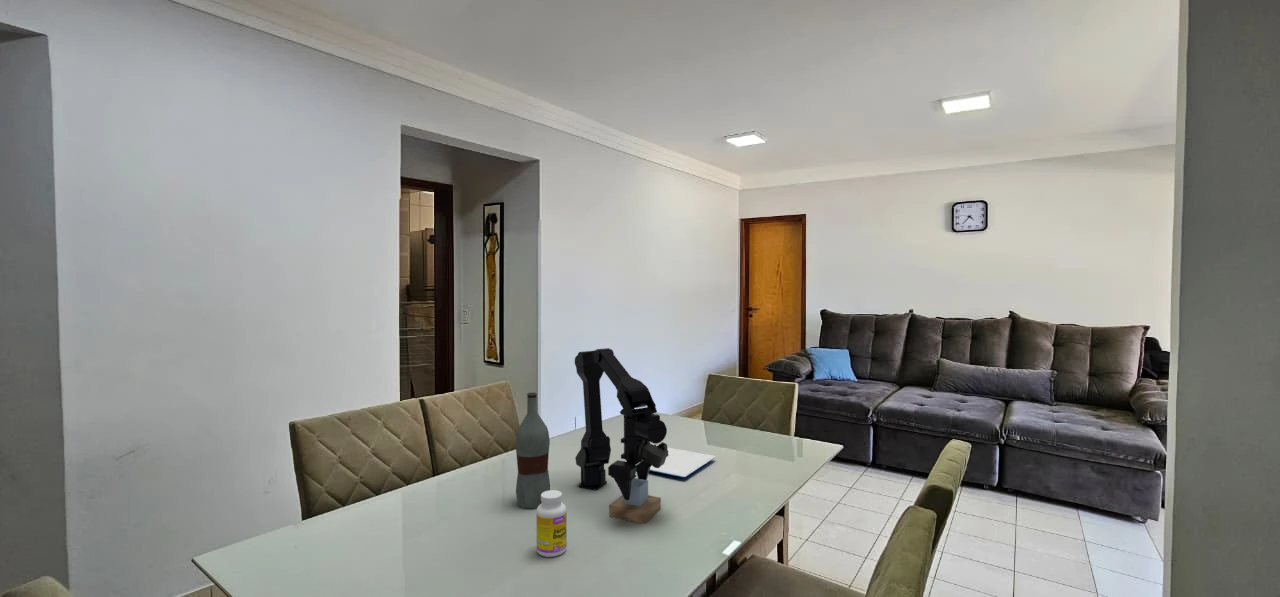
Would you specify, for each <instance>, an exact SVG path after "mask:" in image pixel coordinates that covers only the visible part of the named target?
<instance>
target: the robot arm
mask: <svg viewBox="0 0 1280 597" xmlns="http://www.w3.org/2000/svg"><path fill="white" fill-rule="evenodd" d="M574 366H575V370H576V374H577V375H578V376H579V378H580V380H581V381H582V387H583V388H582V390H583V401H584V402H583V405H584V421H585V432H584V435H583V437H582V439H580V440H581V441H580V449H579V451H578V453H577V454H576V456H575V458H574V459H575V464H576V466H578V467H579V468H580V483H578V484H577V487H579V488H583V489H589V490H595V491H596V490H599V489H600V488H602V487H603V486H604V485H606V484H607V483H608V481H607V480H606V477H607V476H606V469H605V465H608V464H609V463H610V458H611V451H612V448H611V438H610V436H608V435H607V434H606V433H605V431H604V430H603V415H602V414H603V413H602V399H601V398H602V397H601V386H600V385H601V382H600V380H601V378H602V376H603V374H605V375H606V376H607V378H608V379H609V380H610V382H611V383H612V385H613V386H614V387H615V389H616V398H617V400H618V402H619V404H620V406H621V407H622V409H621V410H620V411H619V414H621V415H623V436H622V438H620V444H623V453H621V454H620V459H622V460H620V459H619V460H615V461H614V462H613V463H611V464H610V465H609V466H608V467H607V475H608V476H609V477H611V478H613V479H614V481H615V483H616V484H617V487H618V489H619V490H620V493H621V496H622V495H623V497H624V499H625V500H629V499H630V492H631V482H632V480H633V479H634V478H636V477H637V479H642V480H648V477H649V474H650V472H651V471H650V467H651V466H653V467H655V468H660V466H662V465H664V463H665V460H666V457H668V455H669V454H668V449H667V447H668V444H667V443H666V442H663V441H664V440H665V439H666V436H667V433H668V432H667V431H668V430H667V425H666V423H665V422H663V420H661V416H660V414H656V413H658V410H657V407H656V406H657V405H656V403H655V401H654V399H653V396H652V395H651V392H650V390H649V388H648V387H647V386H646V385H645V383H643V382H642V381H641V380H640V379H637V378H634V377H632V376H631V374H630V373H629V372H628V371H627V370H626V368H625V367H624V366H623V364H622V363H621V362H620V361H619V359H618V358H617V357H616V355H615V354H614V351H613V349H612V348H608V347H607V348H596V349H595V350H586V351H579V352H578V353H577V355H576V356H575V357H574ZM657 444H658V445H657Z"/></svg>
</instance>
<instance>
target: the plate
mask: <svg viewBox="0 0 1280 597" xmlns="http://www.w3.org/2000/svg"><path fill="white" fill-rule="evenodd" d="M667 449H668V454H669V455H668V457H666V460H665V463H664V465H662V466H660V468H655V467H653V466H651V467H650V471H649V472H655V473H659V474H663V475H670V476H674V477H679V478H686V477H688V476H689V475H691V474H692V473H694V472H696V471H698V470H699V469H701V468H702V467H703V466H705V465H706V464H708V463H709V462H711V461H712V460H714V459H715V458H716V456H715V455H712V454H706V453H700V452H695V451H690V450H684V449H678V448H673V447H669V446H667Z"/></svg>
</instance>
